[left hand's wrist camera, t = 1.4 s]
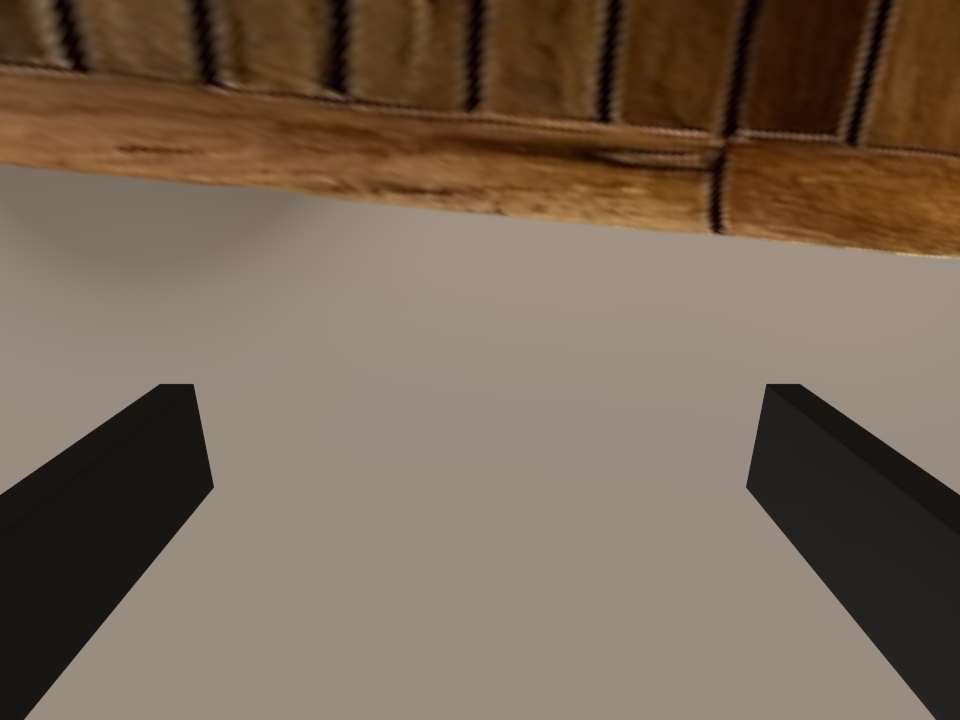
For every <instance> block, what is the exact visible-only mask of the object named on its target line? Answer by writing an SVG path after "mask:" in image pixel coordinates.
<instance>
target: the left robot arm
mask: <svg viewBox="0 0 960 720" xmlns="http://www.w3.org/2000/svg"><path fill="white" fill-rule="evenodd" d="M213 488H214V485H213V480H212V475H211V470H210V465H209V460H208V455H207V450H206V445H205V440H204V435H203V430H202V425H201V420H200V415H199V409H198V404H197V399H196V394H195V389H194V385H193V384H159V385H158V386H157V387H155V388H154V389H152V390H151V391H149V392H148V393H146V394H145V395H144V396H142V397H141V398H139V399H138V400H136V401H135V402H134V403H132V404H131V405H129V406H128V407H126V408H125V409H123V410H122V411H121V412H119V413H118V414H116V415H115V416H113V417H112V418H110V419H109V420H108V421H106V422H105V423H103V424H102V425H100V426H99V427H97V428H96V429H95V430H93V431H92V432H90V433H89V434H88V435H86V436H85V437H83V438H82V439H80V440H79V441H77V442H76V443H74V444H73V445H72V446H70V447H69V448H67V449H66V450H64V451H63V452H61V453H60V454H59V455H57V456H56V457H54V458H53V459H51V460H50V461H49V462H47V463H46V464H44V465H43V466H41V467H40V468H38V469H37V470H36V471H34V472H33V473H31V474H30V475H28V476H27V477H26V478H24V479H23V480H21V481H20V482H18V483H17V484H15V485H14V486H13V487H11V488H10V489H8V490H7V491H5V492H4V493H2V494H1V495H0V720H24V719H25V718H26V717H27V715H28V714H29V713H30V712H31V710H32V709H33V708H34V707H35V705H36V704H37V703H38V702H39V701H40V699H41V698H42V697H43V696H44V695H45V693H46V692H47V691H48V690H49V688H50V687H51V686H52V685H53V683H54V682H55V681H56V680H57V679H58V677H59V676H60V675H61V674H62V672H63V671H64V670H65V669H66V668H67V666H68V665H69V664H70V663H71V661H72V660H73V659H74V658H75V657H76V655H77V654H78V653H79V652H80V650H81V649H82V648H83V647H84V646H85V644H86V643H87V642H88V641H89V639H90V638H91V637H92V636H93V635H94V633H95V632H96V631H97V630H98V628H99V627H100V626H101V625H102V624H103V622H104V621H105V620H106V619H107V617H108V616H109V615H110V614H111V613H112V611H113V610H114V609H115V608H116V606H117V605H118V604H119V603H120V601H121V600H122V599H123V598H124V597H125V595H126V594H127V593H128V592H129V591H130V589H131V588H132V587H133V585H134V584H135V583H136V582H137V581H138V580H139V578H140V577H141V576H142V575H143V573H144V572H145V571H146V570H147V569H148V567H149V566H150V565H151V564H152V562H153V561H154V560H155V559H156V557H157V556H158V555H159V554H160V553H161V551H162V550H163V549H164V548H165V546H166V545H167V544H168V543H169V542H170V540H171V539H172V538H173V537H174V535H175V534H176V533H177V532H178V530H179V529H180V528H181V527H182V526H183V524H184V523H185V522H186V521H187V520H188V518H189V517H190V516H191V515H192V513H193V512H194V511H195V510H196V509H197V507H198V506H199V505H200V504H201V502H202V501H203V500H204V499H205V498H206V496H207V495H208V494H209V493H210V491H211V490H212V489H213ZM746 488H747V489H748V490H749V491H750V493H751V494H752V495H753V496H754V498H755V499H756V500H757V501H758V502H759V504H760V505H761V506H762V507H763V509H764V510H765V511H766V512H767V513H768V515H769V516H770V517H771V518H772V520H773V521H774V522H775V523H776V524H777V526H778V527H779V528H780V529H781V531H782V532H783V533H784V534H785V535H786V537H787V538H788V539H789V540H790V542H791V543H792V544H793V545H794V546H795V548H796V549H797V550H798V551H799V553H800V554H801V555H802V556H803V557H804V559H805V560H806V561H807V562H808V564H809V565H810V566H811V567H812V568H813V570H814V571H815V572H816V573H817V575H818V576H819V577H820V578H821V579H822V581H823V582H824V583H825V584H826V586H827V587H828V588H829V589H830V591H831V592H832V593H833V594H834V595H835V597H836V598H837V599H838V600H839V602H840V603H841V604H842V605H843V606H844V608H845V609H846V610H847V611H848V613H849V614H850V615H851V616H852V617H853V619H854V620H855V621H856V622H857V624H858V625H859V626H860V627H861V628H862V630H863V631H864V632H865V633H866V635H867V636H868V637H869V638H870V639H871V641H872V642H873V643H874V644H875V646H876V647H877V648H878V649H879V650H880V652H881V653H882V654H883V655H884V657H885V658H886V659H887V660H888V661H889V663H890V664H891V665H892V666H893V668H894V669H895V670H896V671H897V672H898V674H899V675H900V676H901V677H902V679H903V680H904V681H905V682H906V683H907V685H908V686H909V687H910V688H911V690H912V691H913V692H914V693H915V694H916V696H917V697H918V698H919V699H920V701H921V702H922V703H923V704H924V705H925V707H926V708H927V709H928V710H929V712H930V713H931V714H932V715H933V716H934V718H935V719H936V720H960V495H959V494H958V493H956V492H955V491H953V490H952V489H950V488H949V487H947V486H946V485H945V484H943V483H942V482H940V481H939V480H937V479H936V478H934V477H933V476H932V475H930V474H929V473H927V472H926V471H924V470H923V469H922V468H920V467H919V466H917V465H916V464H914V463H913V462H911V461H910V460H909V459H907V458H906V457H904V456H903V455H901V454H900V453H898V452H897V451H896V450H894V449H893V448H891V447H890V446H888V445H887V444H885V443H884V442H883V441H881V440H880V439H878V438H877V437H875V436H874V435H872V434H871V433H870V432H868V431H867V430H865V429H864V428H862V427H861V426H860V425H858V424H857V423H855V422H854V421H852V420H851V419H850V418H848V417H847V416H845V415H844V414H842V413H841V412H839V411H838V410H837V409H835V408H834V407H832V406H831V405H829V404H828V403H826V402H825V401H824V400H822V399H821V398H819V397H818V396H816V395H815V394H814V393H812V392H811V391H809V390H808V389H806V388H805V387H803V386H802V385H801V384H767V385H766V389H765V394H764V399H763V404H762V410H761V415H760V420H759V425H758V430H757V435H756V440H755V445H754V450H753V455H752V460H751V465H750V470H749V475H748V480H747V485H746Z"/></svg>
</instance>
